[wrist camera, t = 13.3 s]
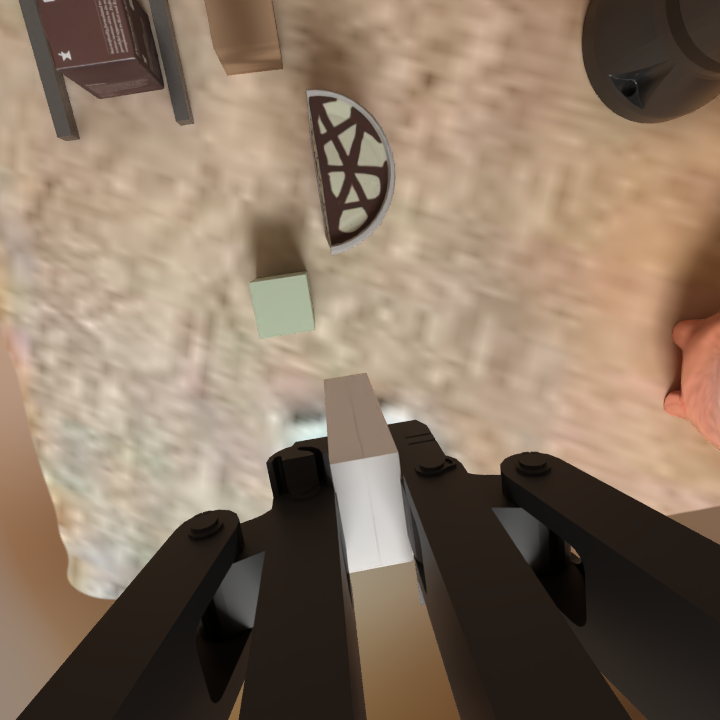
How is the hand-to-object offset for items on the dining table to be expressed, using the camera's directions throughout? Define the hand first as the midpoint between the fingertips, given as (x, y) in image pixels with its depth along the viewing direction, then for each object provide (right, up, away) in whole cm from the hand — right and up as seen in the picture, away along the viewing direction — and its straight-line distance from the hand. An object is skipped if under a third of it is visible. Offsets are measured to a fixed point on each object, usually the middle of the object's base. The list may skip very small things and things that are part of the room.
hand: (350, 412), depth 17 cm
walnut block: (-9, +30, +25) cm, 41 cm away
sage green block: (-7, +8, +31) cm, 33 cm away
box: (-20, +28, +25) cm, 43 cm away
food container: (-1, +19, +29) cm, 35 cm away
